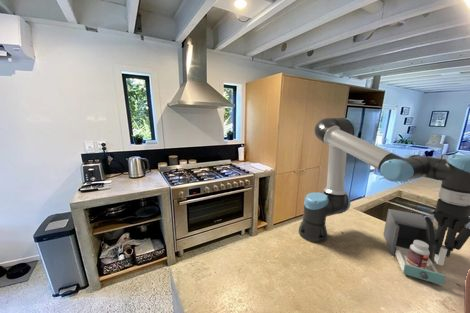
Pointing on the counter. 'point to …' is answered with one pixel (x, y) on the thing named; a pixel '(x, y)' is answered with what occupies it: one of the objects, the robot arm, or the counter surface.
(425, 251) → the pill bottle
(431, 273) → the tray
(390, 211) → the housing
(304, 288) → the counter surface
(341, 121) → the robot arm
